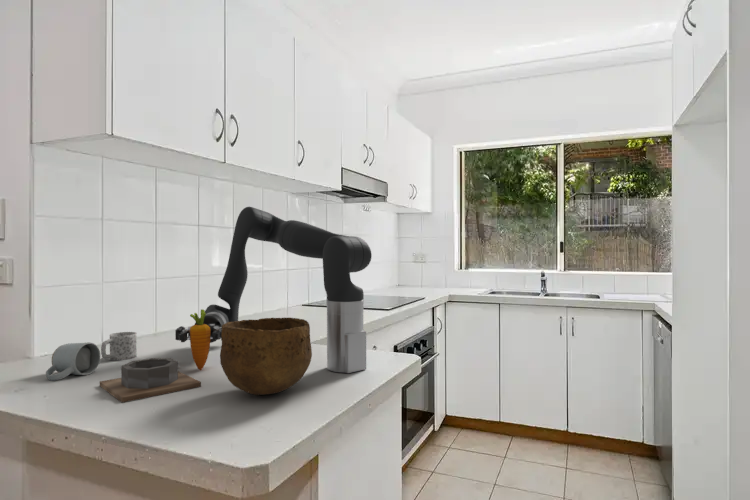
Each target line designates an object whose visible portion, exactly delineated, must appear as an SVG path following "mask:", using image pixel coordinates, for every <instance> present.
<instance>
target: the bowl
mask: <svg viewBox="0 0 750 500" xmlns="http://www.w3.org/2000/svg"><path fill="white" fill-rule="evenodd" d="M310 333H311V326H310V323H309V322H308V320H305V319H304V318H297V317H264V318H263V317H262V318H259V319H241V320H238V321H234V322H227V323H225V324H223V325H222V333H221V339H220V341H221V346H220V354H219V358H220V359H219V363H220V365H221V368H222V371H223V373H224V375H225V376H226V378H227V380H228V381H229V382H230V383H231V384H232V386H233V387H236V388H237V389H239V390H241V391H243V392H245V393H247V394H250V395H255V396H265V395H272V394H278V393H281V392H283V391H285V390H287V389H290V388H291V387H292V386H294V385H295V384H297V383H298V382H299V381H300V380H301V379H302V378H303V377H304V375H305V374H306V372H307V370H308V368H309V366H310V364H311V361H312V356H313V352H312V351H313V350H312V344H311V334H310Z"/></svg>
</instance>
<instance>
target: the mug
mask: <svg viewBox="0 0 750 500" xmlns="http://www.w3.org/2000/svg"><path fill="white" fill-rule="evenodd" d="M137 337H138V335H137V332H135V331H120V332H115V333H110V334H109V338H108V339H106V340H104V341H102V343H101V347H100V355H101V358H102V359H105V360H108V359H109V360H110V361H126V360H132V359H135V358H137V355H138V353H137V349H138V348H137V344H138V343H137V340H138V339H137ZM108 344H109V354H107V352H106V351H107V350H106V349H107V345H108Z"/></svg>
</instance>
